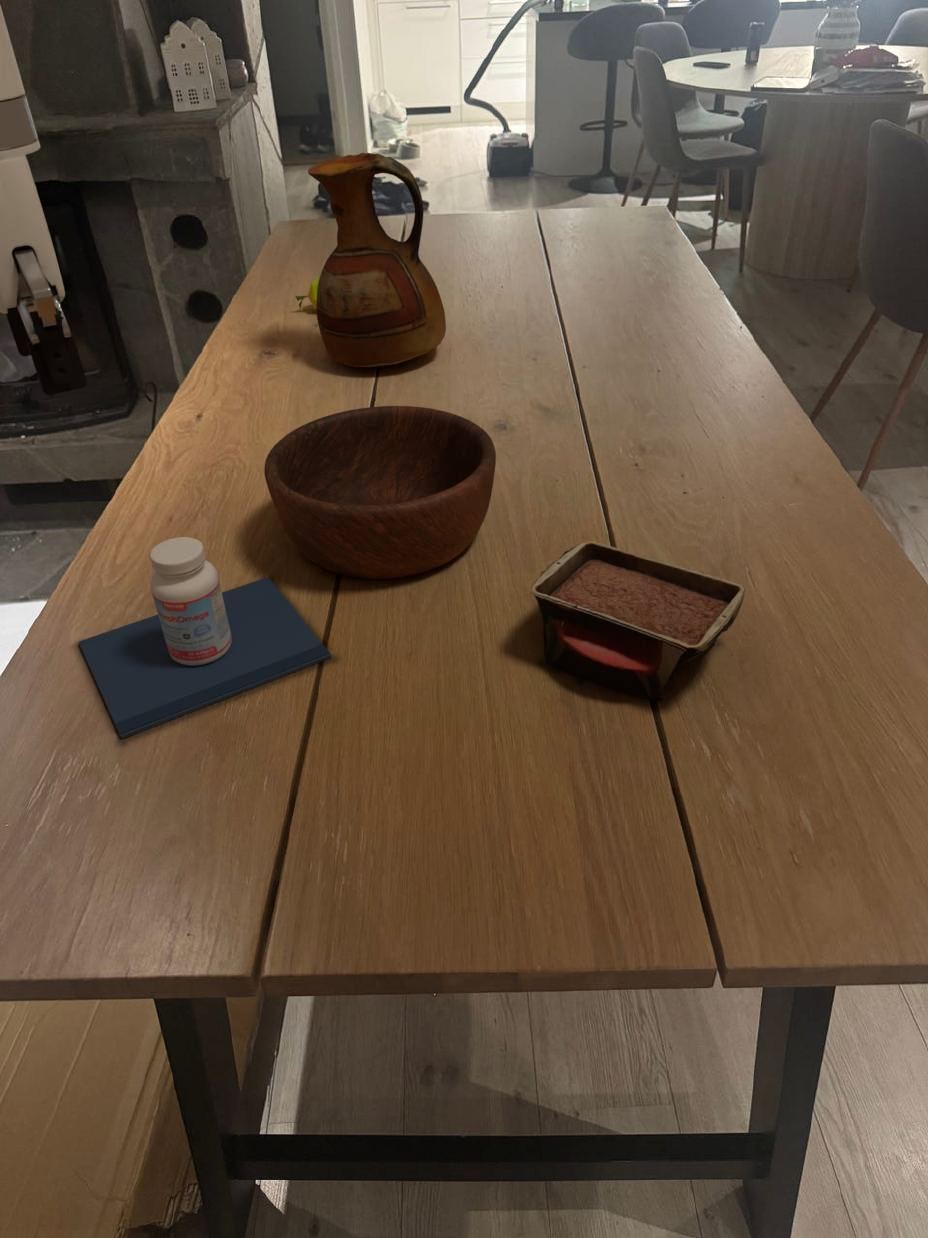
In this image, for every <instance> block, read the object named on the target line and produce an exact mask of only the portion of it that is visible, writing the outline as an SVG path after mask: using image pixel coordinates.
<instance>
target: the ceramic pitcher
mask: <svg viewBox="0 0 928 1238" xmlns="http://www.w3.org/2000/svg"><path fill="white" fill-rule="evenodd" d="M307 173H308V175H309V176H311V177H312V178H313V179H315V180H316V181H317V182H318V183H320V184H321V185H322V187H323V188H324V189H325V191H326V192H327V194H328V197H329V206H330V209H331V212H332V214H333V216H334V219H335V222H336V224H337V232H336V243H337V245H336V247H335V248H334V250H333V251H332V252H331V254H329V256H328V258H327V259H326V261H325V262H324V265H323V267H322V270H321V273H320V276H319V278H320V279H319V278H318V279H319V283H318V289H317V307H316V309H317V310H316V309H315V310H316V319H317V325H318V329H319V334H320V336H321V340H322V343H323V345H324V349H325V351H326V353H327V354H328V356H330V358H331V359H332V360H334V361H335V362H337V363H339V364H343V365H345V366H348V367H355V368H371V367H381V366H382V367H383V366H391V365H396V364H397V365H398V364H400V363H402V362H405V361H409V360H412V359H414V358H416V357H420V356H423V355H424V354H427V353H428V352H430V351H432V350H433V349H436V348H437V347H438V346H440V345H441V344H442V342H443V340H444V338H445V336H446V332H447V323H446V322H447V321H446V312H445V308H444V305H443V300H442V298H441V294H440V291H439V289H438V286H437V284H436V282H435V280H434V279H433V276H432V274H431V273H430V272H429V270H428V268H427V266H426V265H425V264H424V263H423V261H422V260H421V258H420V254H419V252H420V244H421V239H422V232H423V226H424V225H423V224H424V214H425V213H424V212H425V211H424V202H423V196H422V193H421V190H420V187H419V184H418V182H417V180H416V178H415V176H414V174H413V173H412V171H411V170H410V169H409V168H408V167H407V166H406V165H404V164H403V163H401V162H400V161H399V160H397V159H395V158H394V157H392V156H385V155H382V154H380V153H372V152H360V153H358V154H347V155H343V156H338V157H337V156H336V157H332V158H330V159H329V158H328V159H327V160H322V161H320V162H318V163H317V164H314V165H312V166H311V167H309V168H308V170H307ZM380 174H387V175H391V176H394V177H395V178H397V179H399V180H400V181H401V182H402V183H404V185H405V187H406V188H407V189H408V191H409V194H410V196H411V199H412V202H413V203H412V204H413V207H414V218H413V224H412V228H411V231H410V234H409V235H408V237H407V239H406V240H403V241H399V240H397V239H396V238H393V237H390V236H389V235H388V234H387V232H386V230H385V229H384V228H383V226H382V224H381V221H380V219H379V217H378V214H377V210H376V205H375V202H374V201H375V200H374V196H373V195H374V194H373V188H374V187H373V186H374V181H375V180H374V179H375V176H376V175H380Z"/></svg>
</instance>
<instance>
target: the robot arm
mask: <svg viewBox="0 0 928 1238" xmlns="http://www.w3.org/2000/svg"><path fill="white" fill-rule="evenodd" d="M41 148H42V147H41V144H40V140H39V136H38V133H37V129H36V126H35V121H34V119H33V115H32V111H31V107H30V104H29V101H28V98H27V95H26V90H25V88H24V84H23V81H22V77H21V73H20V70H19V67H18V62H17V59H16V55H15V52H14V47H13V45H12V41H11V38H10V34H9V31H8V26H7V23H6V20H5V16H4V14H3V9H2V6H1V4H0V313H1V314H3V315H5V317H6V319H7V322H8V325H9V328H10V331H11V335H12V338H13V340H14V343H15V346H16V349H17V351H18V353H19V355H20V356H22V357H29V356H30V357H31V360H32V364H33V366H34V369H35V373H36V376H37V379H38V381H39V385H40V387H41V390H42V392H43V393H44V394H45V395H46V396H53V395H56V394H61V393H66V392H70V391H74V390H78V389H79V390H80V389H83V388H85V387H86V386H87V385H88V381H87V376H86V374H85V373H86V372H85V371H84V367H83V363H82V359H81V357H80V353H79V350H78V346H77V343H76V340H75V336H74V334H73V332H71V329H70V326H69V324H68V321H67V318H66V316H65V313H64V311H63V309H62V306H61V303H62V302H63V300H64V299H65V297H66V291H65V285H64V282H63V277H62V274H61V271H60V266H59V263H58V259H57V255H56V251H55V248H54V244H53V241H52V237H51V233H50V230H49V227H48V223H47V219H46V217H45V214H44V210H43V206H42V203H41V200H40V197H39V194H38V190H37V186H36V183H35V181H34V177H33V174H32V170H31V167H30V164H29V160H28V158H27V155H30V154H33V153H35V152H37V151H39V150H40V149H41Z"/></svg>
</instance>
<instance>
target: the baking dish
mask: <svg viewBox="0 0 928 1238" xmlns="http://www.w3.org/2000/svg"><path fill="white" fill-rule="evenodd" d="M530 590H531V592H532V594H533V596H534V598H535V599H536V601H537V605H538V608H539V609H538V610H539V612H540V615H541V619H542V631H543V632H542V633H543V648H544V658H543V662H544V663H545V664H547V665H549V666H550V667H552V668H555V669H558V670H560V671H563V672H565V673H568V674H571V675H572V676H576V677H579V678H581V679H584V680H587V681H590V682H593V683H596V684H599V685H602V686H605V687H608V688H610V689H614V690H616V691H619V692H623V693H625V694H629V695H632V696H637V697H639V698H642V699H646V700H649V701H652V702H653V701H654V702H659V703H661V701H662V700H663V696H664V691H665V687H666V684H667V683H668V680H669V679H670V677H671V675H672V673H673V672H674V671H675V670H674V669H675V668H677V667H680V666H681V665H683V664H685V663H687V662H690V661H693V660H694V659H696V658H698V657H700V656H702V655H703V654H704V652H706V651H707V650H708V649H710V648H711V647H712V646H713V645H714V644H715V643H716V642H717V640H718V638H719V637H720V636H721V635H722V633H725V632H727V631H728V630H729V628H730V627H731V626H733V624H734V622H735V620H736V619H737V618H738V615H739V612H740V610H741V607H742V604H743V603H744V602H743V601H744V599H745V595H746V588H745V586H744V584H742V583H739V582H735V581H731V580H727V579H724V578H720V577H717V576H714V575H710V574H708V573H704V572H701V571H696V570H693V569H689V568H686V567H682V566H680V565H679V566H678V565H675V564H672V563H669V562H665V561H661V560H658V559H656V558H653V557H648V556H646V555H645V556H644V555H641V554H638V553H635V552H631V551H628V550H624V549H621V548H618V547H614V546H611V545H607V544H604V543H601V542H597V541H586V542H582V543H580V544H577V545H575V546H573V547H571V548H570V549H568V550H566V551H565V552H564V553H563V554H562V555H561V556H560V557H558V559H557V560H555V561H554V562H552V563H551V564H549V565H548V567H547V568H546V569H544V570H543V571H541V573H540V575H539V577H538V578H537V579H536V580H535V581H534V582H533V584H532V585H531V588H530Z"/></svg>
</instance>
